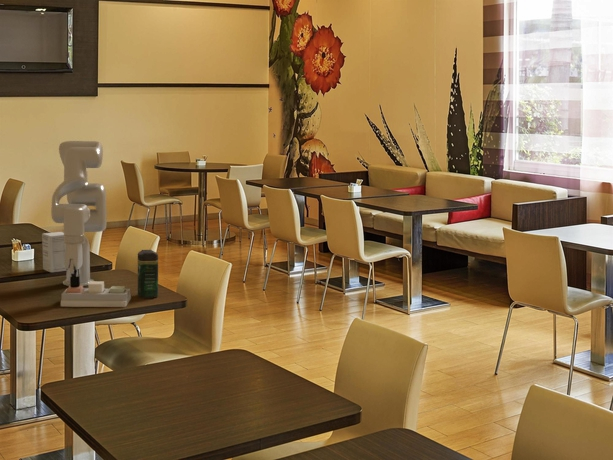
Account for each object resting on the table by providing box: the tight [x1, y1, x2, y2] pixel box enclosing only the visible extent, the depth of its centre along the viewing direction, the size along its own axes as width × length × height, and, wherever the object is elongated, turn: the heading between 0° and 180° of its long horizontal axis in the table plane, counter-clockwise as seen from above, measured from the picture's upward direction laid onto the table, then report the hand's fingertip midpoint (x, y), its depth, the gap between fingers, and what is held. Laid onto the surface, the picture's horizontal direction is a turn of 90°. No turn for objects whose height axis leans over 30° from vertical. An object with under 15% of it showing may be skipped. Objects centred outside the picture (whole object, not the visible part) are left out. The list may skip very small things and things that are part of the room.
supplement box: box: [41, 231, 67, 273], centre depth 375 cm, size 10×9×17 cm
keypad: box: [60, 287, 132, 308], centre depth 316 cm, size 13×24×4 cm, turn 93°
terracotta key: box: [66, 286, 84, 293], centre depth 315 cm, size 5×5×4 cm
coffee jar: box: [137, 249, 159, 299], centre depth 328 cm, size 10×8×19 cm
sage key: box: [110, 285, 126, 293], centre depth 316 cm, size 5×5×4 cm
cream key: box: [87, 280, 105, 293], centre depth 315 cm, size 5×5×4 cm
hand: (75, 286), depth 315 cm, fingers closed
